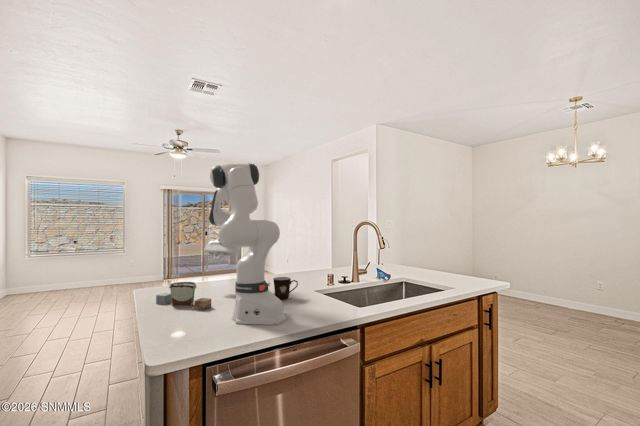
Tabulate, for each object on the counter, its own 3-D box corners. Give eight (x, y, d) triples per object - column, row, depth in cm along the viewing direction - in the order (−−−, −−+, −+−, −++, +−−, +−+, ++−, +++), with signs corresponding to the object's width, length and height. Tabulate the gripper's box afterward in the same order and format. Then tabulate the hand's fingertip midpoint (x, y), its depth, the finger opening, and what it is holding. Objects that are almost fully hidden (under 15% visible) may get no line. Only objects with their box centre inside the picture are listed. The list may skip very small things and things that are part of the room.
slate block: (172, 301, 146) (172, 293, 146) (164, 304, 142) (164, 295, 142) (164, 301, 148) (164, 292, 148) (156, 303, 143) (156, 295, 143)
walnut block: (211, 307, 136) (211, 298, 136) (203, 310, 132) (203, 301, 132) (202, 306, 138) (202, 297, 138) (194, 309, 133) (194, 300, 133)
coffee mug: (270, 300, 148) (271, 279, 148) (276, 296, 157) (276, 276, 157) (294, 301, 146) (294, 280, 146) (298, 297, 155) (298, 277, 155)
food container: (201, 303, 144) (201, 281, 144) (194, 306, 137) (194, 284, 138) (176, 302, 145) (176, 281, 145) (168, 305, 139) (169, 283, 139)
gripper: (208, 236, 174) (196, 255, 165) (240, 237, 168) (229, 257, 159) (213, 243, 178) (202, 262, 169) (244, 245, 172) (234, 264, 163)
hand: (215, 260), depth 164 cm, fingers closed
